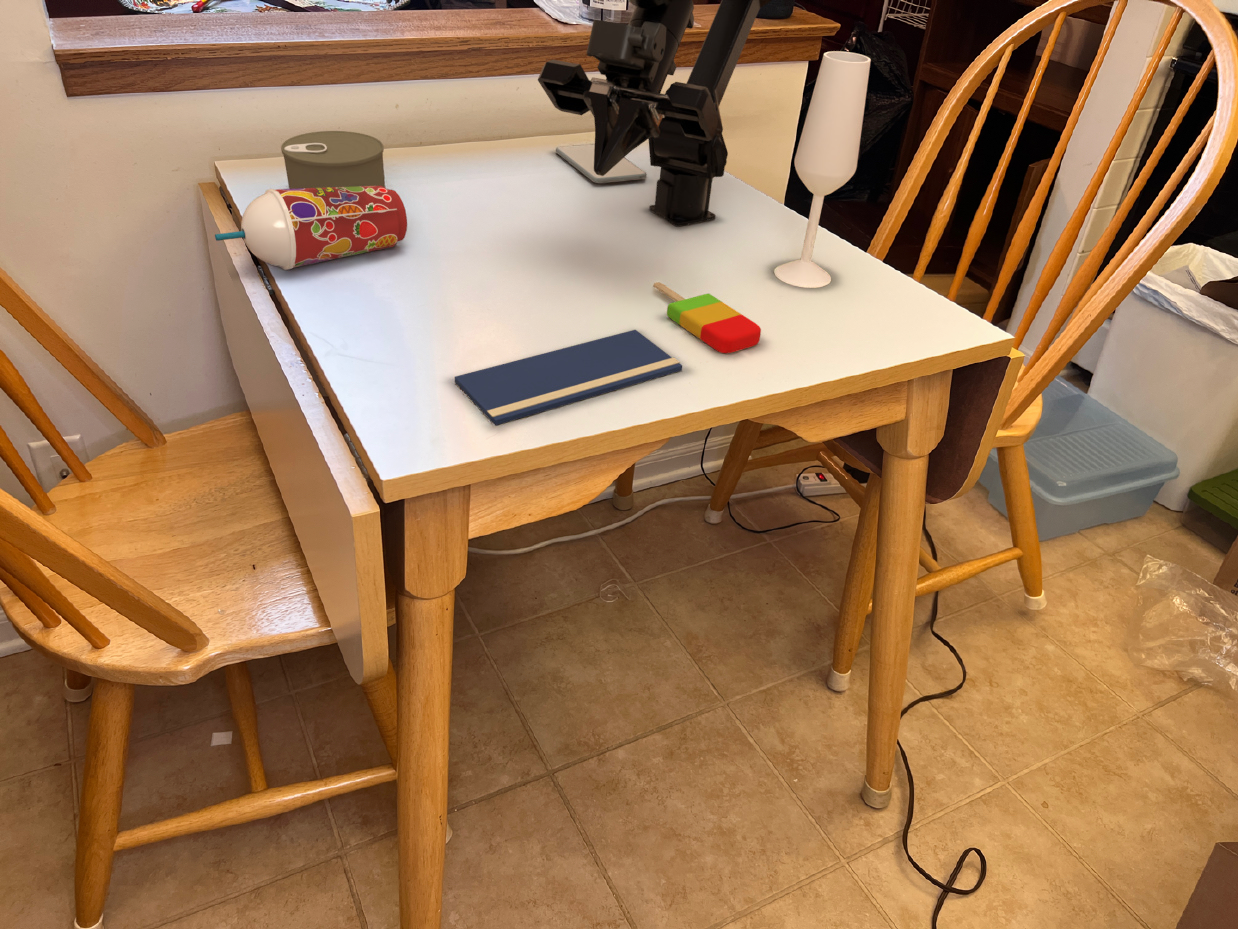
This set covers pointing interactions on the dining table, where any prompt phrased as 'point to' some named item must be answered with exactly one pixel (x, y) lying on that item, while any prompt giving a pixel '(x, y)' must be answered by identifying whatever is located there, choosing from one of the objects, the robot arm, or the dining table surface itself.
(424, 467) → the dining table surface
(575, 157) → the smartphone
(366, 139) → the can
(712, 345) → the popsicle
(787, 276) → the champagne flute
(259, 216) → the smoothie
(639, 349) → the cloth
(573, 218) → the dining table surface
